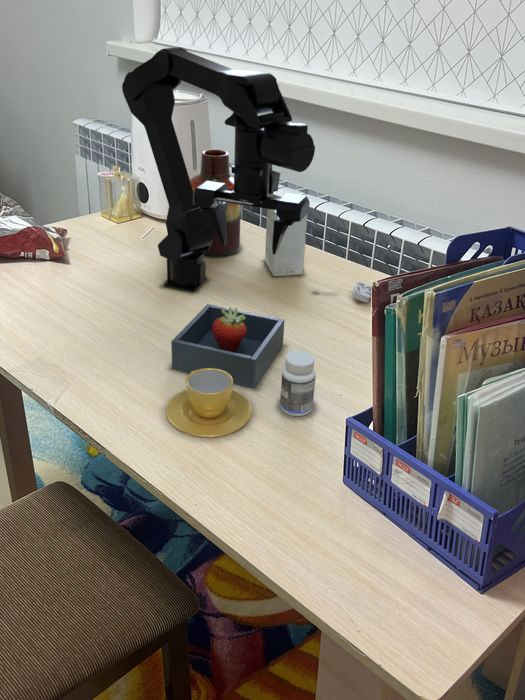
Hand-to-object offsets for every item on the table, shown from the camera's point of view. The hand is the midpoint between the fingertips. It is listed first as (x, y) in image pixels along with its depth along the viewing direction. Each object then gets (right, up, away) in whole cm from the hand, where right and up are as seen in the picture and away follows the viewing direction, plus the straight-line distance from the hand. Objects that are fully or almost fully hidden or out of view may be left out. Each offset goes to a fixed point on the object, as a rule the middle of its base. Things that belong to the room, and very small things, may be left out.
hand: (249, 249), depth 118 cm
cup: (-5, -26, -21) cm, 34 cm away
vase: (-8, +5, +31) cm, 33 cm away
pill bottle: (+7, -26, -19) cm, 33 cm away
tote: (-3, -18, -8) cm, 20 cm away
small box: (+7, -1, +23) cm, 24 cm away
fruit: (-3, -18, -8) cm, 20 cm away
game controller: (+18, -7, +14) cm, 24 cm away
